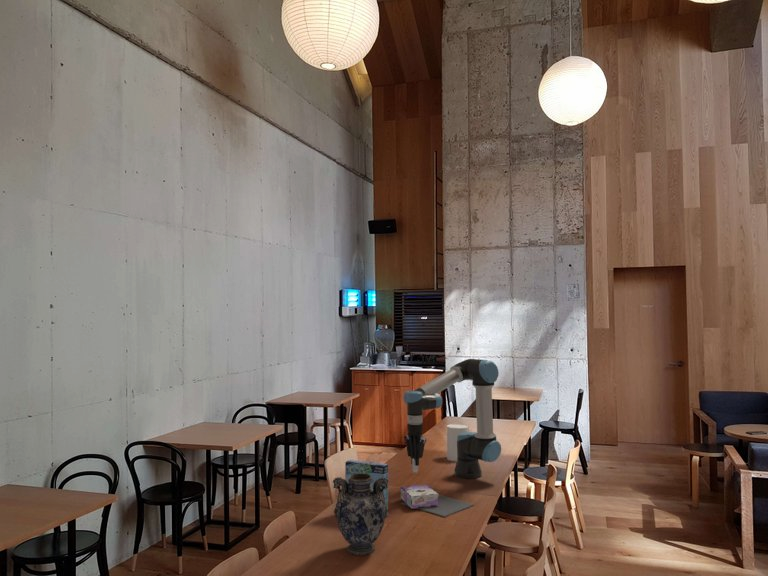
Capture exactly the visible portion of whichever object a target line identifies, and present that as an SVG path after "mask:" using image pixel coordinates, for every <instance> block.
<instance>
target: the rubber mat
mask: <svg viewBox="0 0 768 576" xmlns="http://www.w3.org/2000/svg"><path fill="white" fill-rule="evenodd" d="M401 505H403V506H406V505H407V504H406V503H405V502H404V501H403V502H401ZM471 506H472V507H475V504H474V503H470V502H467V501H463V500H460V499H456V498H452V497H450V496H447V495H446V496H445V495H441V494H439V506H431V507H422V508H415V509H416V510H419V509H420V511H422V510H423V511H422V512H425V513H428V514H432V513H433V514H432V515H435V514H436V516H438V515H439V516H438V517H441V516H442V518H447V517H449V515H450V516H451V514H452V515H454V513H455V514H457V513H459V511H460V512H462V511H465V510H467V509H470V508H471ZM406 507H409V506H408V505H407V506H406ZM469 507H470V508H469ZM464 509H465V510H464ZM461 510H462V511H461ZM456 512H457V513H456Z"/></svg>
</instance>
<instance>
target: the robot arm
mask: <svg viewBox="0 0 768 576" xmlns="http://www.w3.org/2000/svg"><path fill="white" fill-rule="evenodd" d="M498 378H499V369H498V366H497V364H496V363H495V362H494V361H492V360H489V359H479V358H478V359H476V358H469V359H465V360H461V361H459V362H458V363H456V364H454V365H452V366H451V367H450V368H449V370H447V371H446V372H444V373H442V374H440V375H439V376H437V377H434V379H432V380H430V381H428V382H427V383H425V384H423V385H421V386H420V387H418V388H416V389H414V390H407V391H405V392H404V394H403V396H402V397H403V398H402V399H403V401H404V403H405V404H406V409H407V410H406V411H407V412H406V413H407V414H406V415H407V416H406V417H407V418H406V419H407V421H406V423H407V425H406V426H407V432H408V433H407V435H405V436H403V439H404V441H405V446H406V451H407V456H408V457H410V460H411V463H410V464H411V469H412V471H411V472H412V473H415V474H416V473H418V472H419V465H420V459H422V458H423V456H424V450H425V444H426V442H427V439H426V438H424V437H423V430H424V428H423V427H424V425H423V422H424V420H423V418H424V417H423V411H426V410H436V409H439V408H440V409H441V407H442V405H443V397H442V396H441V395H440V393H441V392H443V391H445V389H448V388H449V387H451V386H452V385H454V384H456V383H462V382H464V381H472V386H473V388H474V389H475V403H476V404H475V409H476V410H475V411H476V414H475V415H476V432H473V431H471V432H470V431H469V433H461V434H459V435H458V436H457V461H456V463H455V468H454V470H453V472H454V476H455V477H457V478H461V479H478V478H481V477H482V475H483V471H482V468H481V465H480V462H479V461H483V462H485V463H494V462H496V461H497V460H498V459H499V457H500V455H501V453H502V445H501V443H500V442H499V441H498V440H497V435H496V433H495V432H494V421H493V420H494V416H493V414H494V413H493V392H492V391H493V390H492V389H493V387H494V386H495V382H497V380H498Z"/></svg>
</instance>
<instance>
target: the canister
mask: <svg viewBox="0 0 768 576" xmlns="http://www.w3.org/2000/svg"><path fill="white" fill-rule="evenodd" d="M469 427H470V426H469V425H468V424H463V423H451V424H448V425H446V460H447V461H450V460H451V462H457V436H458V435H459V434H461V433H469V432H470V428H469Z"/></svg>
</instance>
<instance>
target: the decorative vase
mask: <svg viewBox="0 0 768 576" xmlns="http://www.w3.org/2000/svg"><path fill="white" fill-rule="evenodd" d="M373 481H374V480H373V478H371V476H370V475H368V474H354V475H352V476H351V478H349V480H348V482H349V483H350V484H351V485H352V487H351V489H352V490H351V491H348V488H349V486H348V482H347V481H346V480H345V479H344V478H343V477H341V476H339V477H338V476H337V477H334V479H333V480H332V483H333V489H338V493H337V497H336V504H335V508H334V510H333V514H334V517H335V518H336V521H337V525H338V528H339V531H340V533H341V535H342V536H343V539H344V540H345V541H346V542H347V543H348V544H349V545H348V546H347V548H346V549H347V552H348V553H349V554H351V555H355V556H367V555H370V554H372V553H374V552H375V551H376V550H375V549H376V548H375V547H376V546H375V545H374V544H373V543H374V542H376V541H377V539H378V538H379V536H380V535H381V532H382V530H383V528H384V524H385V520H386V518H387V517H388V516H387V513H388V514H389V507H388V508H387V507H386V503H385V495H384V492H383V489H386V488H388V489H389V479H388V480H387V478H384V477H383V478H379V479H378V480H376V481H375V482H374V484H373V491H371V490H370V488H371V487H370V484H371V483H373ZM380 486H381V487H382V489H381V488H380ZM386 516H387V517H386Z"/></svg>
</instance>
